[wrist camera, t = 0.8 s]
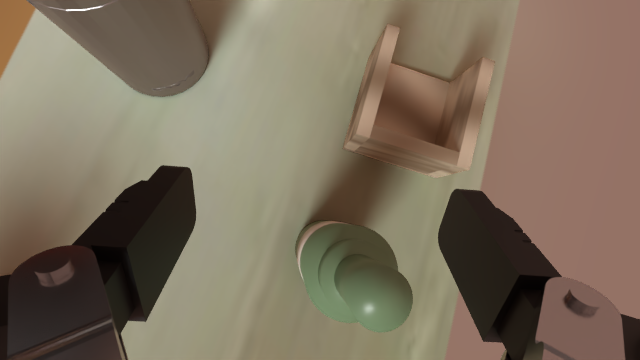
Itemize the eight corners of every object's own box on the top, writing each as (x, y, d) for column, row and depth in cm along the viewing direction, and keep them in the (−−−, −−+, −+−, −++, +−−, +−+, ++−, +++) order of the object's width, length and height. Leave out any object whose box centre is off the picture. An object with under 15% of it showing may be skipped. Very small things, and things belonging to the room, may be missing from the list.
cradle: (435, 177, 35) (469, 169, 29) (342, 148, 35) (356, 133, 28) (457, 88, 37) (495, 61, 30) (368, 58, 36) (387, 23, 29)
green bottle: (284, 237, 33) (286, 272, 13) (334, 209, 34) (406, 203, 14) (311, 288, 33) (355, 401, 13) (361, 259, 34) (472, 324, 14)
